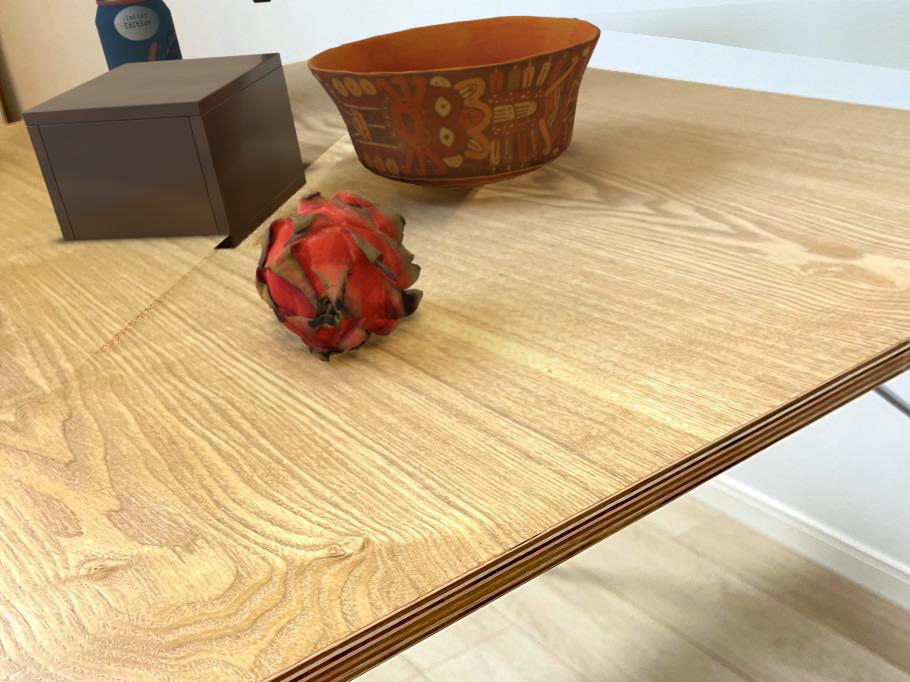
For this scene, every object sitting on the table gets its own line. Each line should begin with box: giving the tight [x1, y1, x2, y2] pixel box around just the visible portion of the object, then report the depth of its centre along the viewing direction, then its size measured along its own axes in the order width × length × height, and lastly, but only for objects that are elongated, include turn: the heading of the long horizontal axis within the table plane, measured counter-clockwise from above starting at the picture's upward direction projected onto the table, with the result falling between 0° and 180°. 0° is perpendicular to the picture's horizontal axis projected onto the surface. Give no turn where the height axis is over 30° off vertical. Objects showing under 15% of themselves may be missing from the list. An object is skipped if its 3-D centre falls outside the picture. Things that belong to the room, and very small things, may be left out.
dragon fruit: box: [254, 189, 424, 363], centre depth 62 cm, size 8×8×12 cm
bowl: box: [306, 15, 602, 189], centre depth 85 cm, size 21×21×10 cm
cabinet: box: [21, 52, 308, 250], centre depth 84 cm, size 15×13×10 cm
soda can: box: [94, 0, 184, 71], centre depth 109 cm, size 7×7×12 cm
